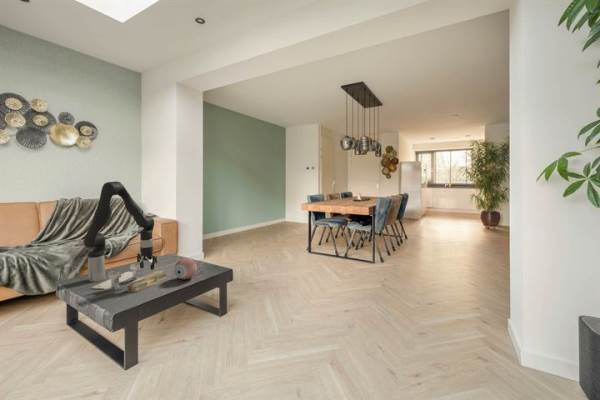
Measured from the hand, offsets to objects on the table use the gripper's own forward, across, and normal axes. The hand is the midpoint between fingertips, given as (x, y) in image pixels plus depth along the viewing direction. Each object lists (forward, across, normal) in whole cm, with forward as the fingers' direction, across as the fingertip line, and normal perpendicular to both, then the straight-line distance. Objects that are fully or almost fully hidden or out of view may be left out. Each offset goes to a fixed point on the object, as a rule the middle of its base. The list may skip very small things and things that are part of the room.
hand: (147, 268), depth 180 cm
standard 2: (+11, -14, +4) cm, 18 cm away
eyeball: (+10, +20, +15) cm, 27 cm away
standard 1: (+11, -14, -12) cm, 21 cm away
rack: (+10, 0, 0) cm, 11 cm away
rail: (+10, 0, 0) cm, 10 cm away
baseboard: (+12, -25, 0) cm, 27 cm away
